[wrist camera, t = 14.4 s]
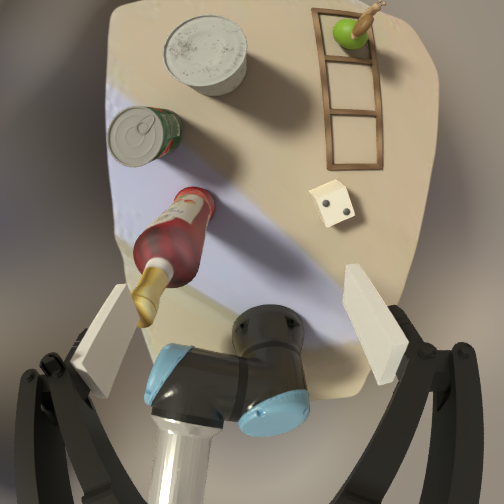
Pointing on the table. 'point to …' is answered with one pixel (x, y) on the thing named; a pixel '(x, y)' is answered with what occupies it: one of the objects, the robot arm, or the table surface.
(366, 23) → the snail figurine
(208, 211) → the liquor
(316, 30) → the wooden ladder frame
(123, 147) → the canned tomato
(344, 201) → the die
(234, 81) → the grey cylinder
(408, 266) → the table surface
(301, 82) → the table surface
